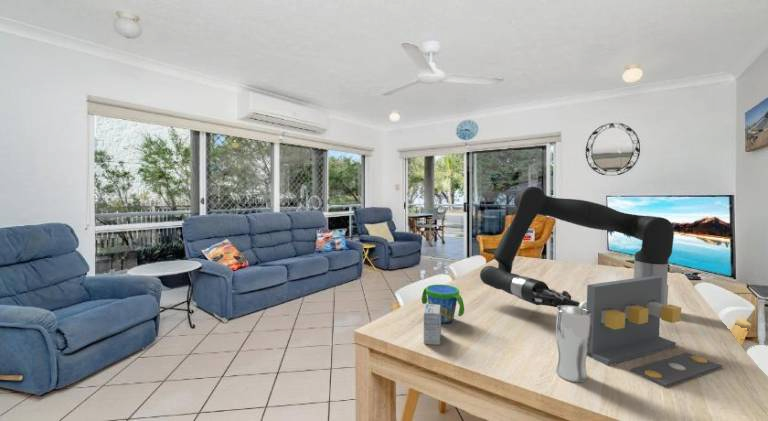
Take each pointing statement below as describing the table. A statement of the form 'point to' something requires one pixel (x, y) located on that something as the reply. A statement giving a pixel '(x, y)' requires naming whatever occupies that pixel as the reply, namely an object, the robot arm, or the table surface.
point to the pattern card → (675, 369)
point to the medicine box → (432, 324)
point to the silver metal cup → (573, 342)
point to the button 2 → (664, 311)
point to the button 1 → (609, 317)
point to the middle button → (636, 314)
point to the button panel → (634, 337)
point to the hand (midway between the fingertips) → (578, 306)
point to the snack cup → (444, 300)
